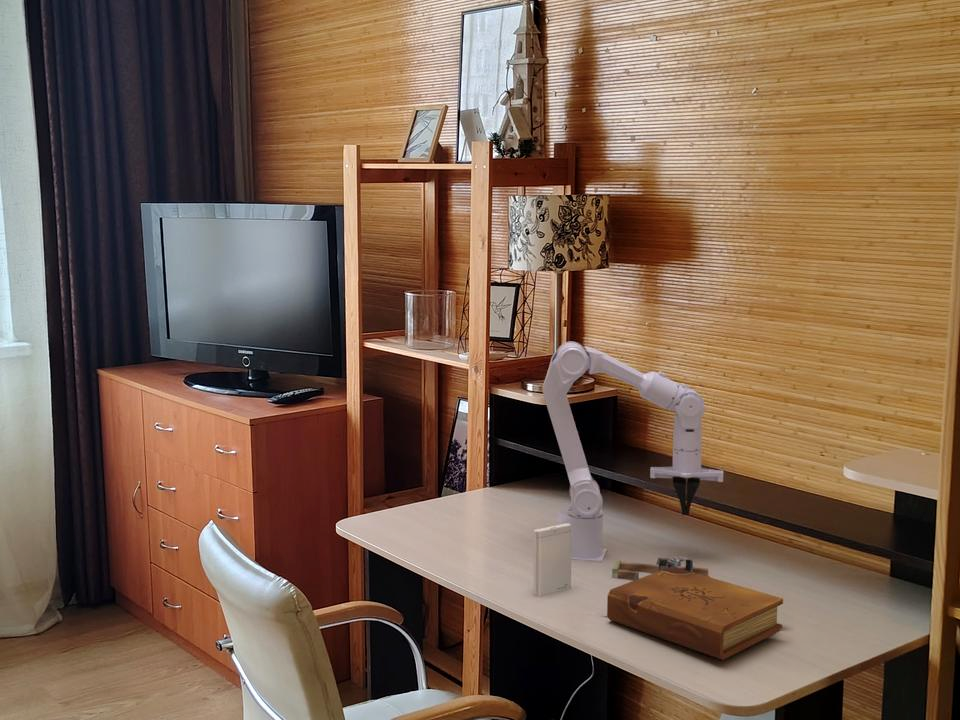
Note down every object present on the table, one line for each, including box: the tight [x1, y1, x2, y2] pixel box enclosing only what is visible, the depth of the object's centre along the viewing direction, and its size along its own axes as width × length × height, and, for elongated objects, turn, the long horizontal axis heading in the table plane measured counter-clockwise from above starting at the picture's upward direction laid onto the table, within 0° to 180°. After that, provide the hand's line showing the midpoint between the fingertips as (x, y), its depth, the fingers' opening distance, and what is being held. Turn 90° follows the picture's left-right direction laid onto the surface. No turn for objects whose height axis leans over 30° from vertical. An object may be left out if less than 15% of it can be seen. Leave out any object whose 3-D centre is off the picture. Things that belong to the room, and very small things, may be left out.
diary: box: [606, 566, 784, 661], centre depth 181 cm, size 23×19×6 cm
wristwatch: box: [666, 556, 695, 572], centre depth 204 cm, size 3×5×5 cm, turn 111°
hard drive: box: [533, 523, 572, 598], centre depth 196 cm, size 2×8×12 cm, turn 125°
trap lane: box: [611, 557, 709, 581], centre depth 205 cm, size 18×15×2 cm
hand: (685, 513), depth 216 cm, fingers closed
